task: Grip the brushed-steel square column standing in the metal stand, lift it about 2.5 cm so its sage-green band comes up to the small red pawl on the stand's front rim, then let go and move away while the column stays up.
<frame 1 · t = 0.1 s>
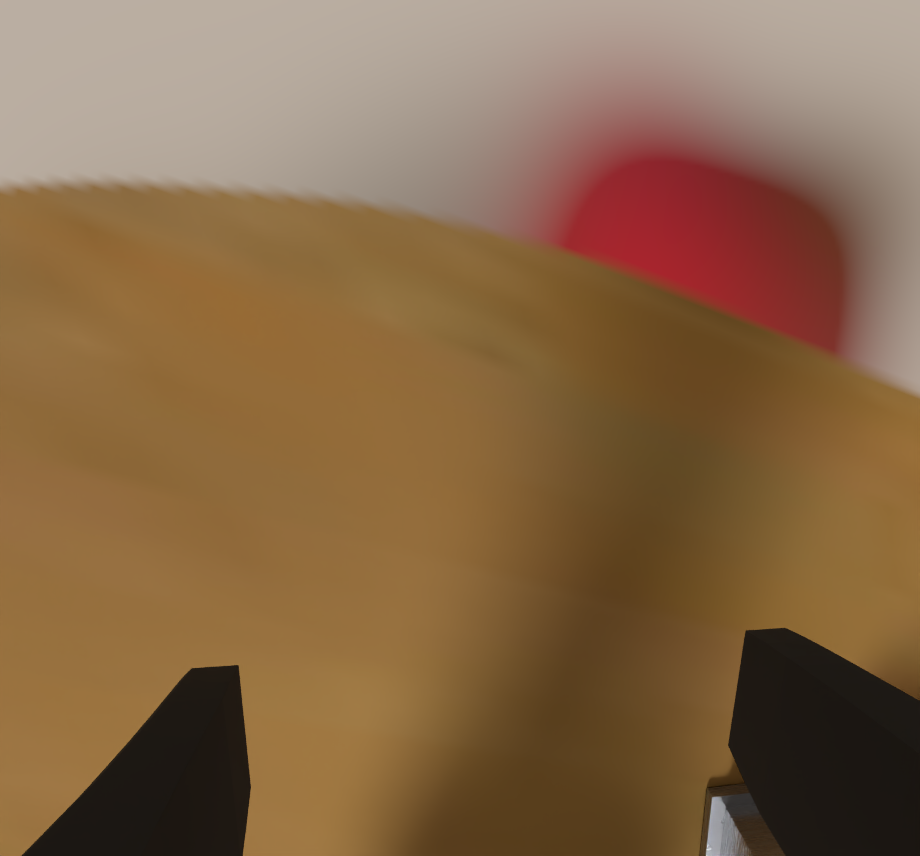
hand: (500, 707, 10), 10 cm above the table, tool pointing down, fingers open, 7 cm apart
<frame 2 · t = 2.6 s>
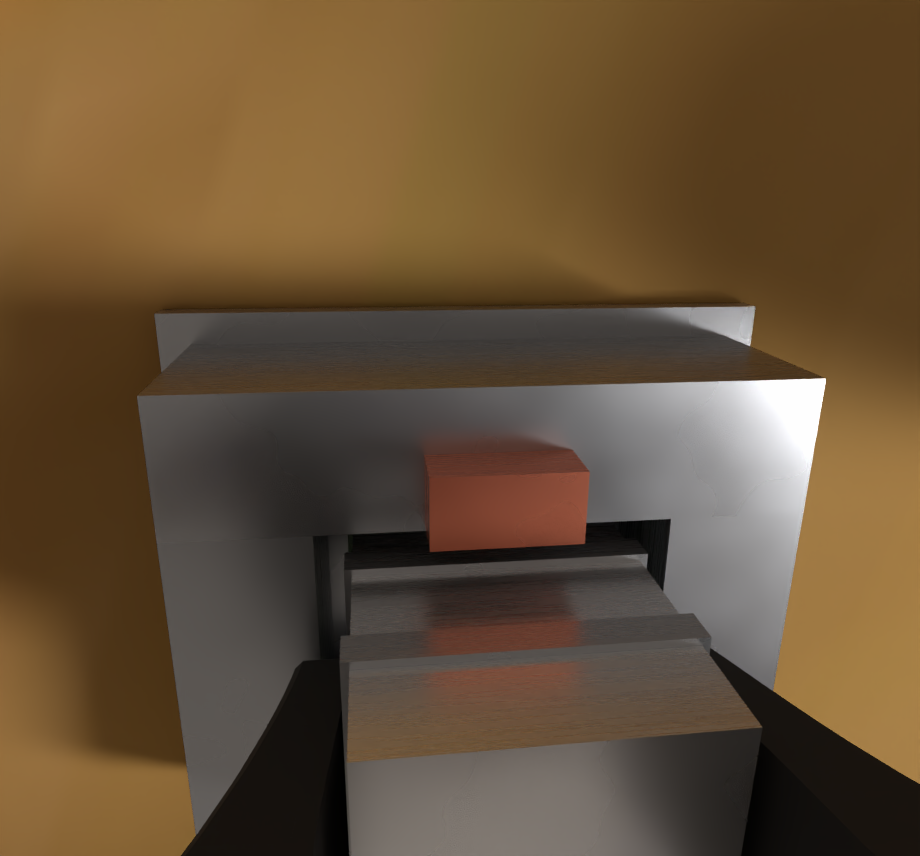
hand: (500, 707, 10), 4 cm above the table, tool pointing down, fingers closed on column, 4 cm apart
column: (496, 693, 11), point 4 cm above the table, slide at 0.0 cm, touching gripper, stand base
stand base: (463, 567, 14), on the table
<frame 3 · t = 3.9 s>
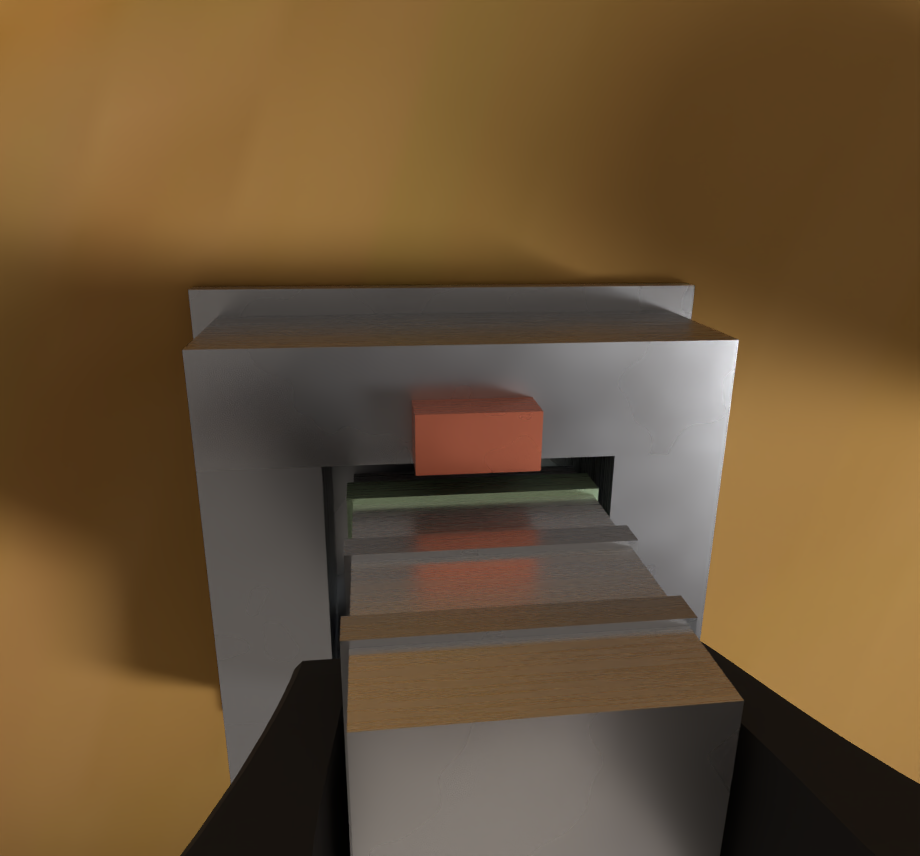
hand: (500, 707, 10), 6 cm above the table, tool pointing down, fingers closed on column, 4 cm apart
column: (491, 675, 11), point 6 cm above the table, slide at 2.1 cm, touching gripper
stand base: (448, 511, 16), on the table
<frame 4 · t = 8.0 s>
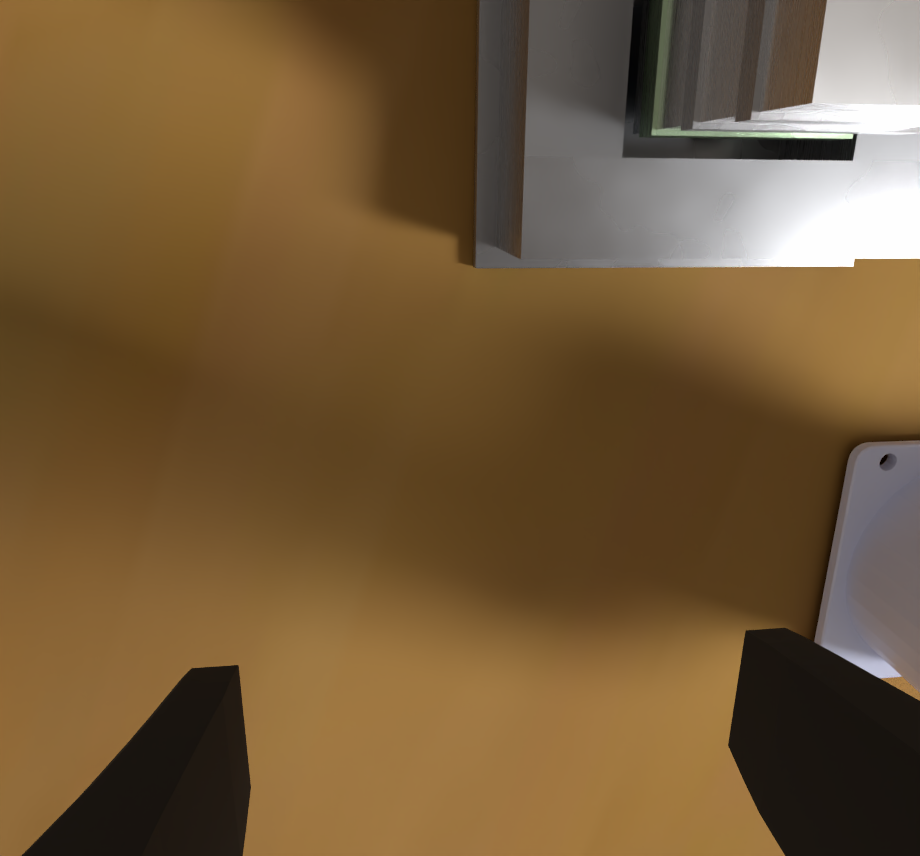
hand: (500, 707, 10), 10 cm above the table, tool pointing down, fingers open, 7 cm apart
stand base: (684, 51, 18), on the table
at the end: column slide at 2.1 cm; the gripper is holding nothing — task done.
